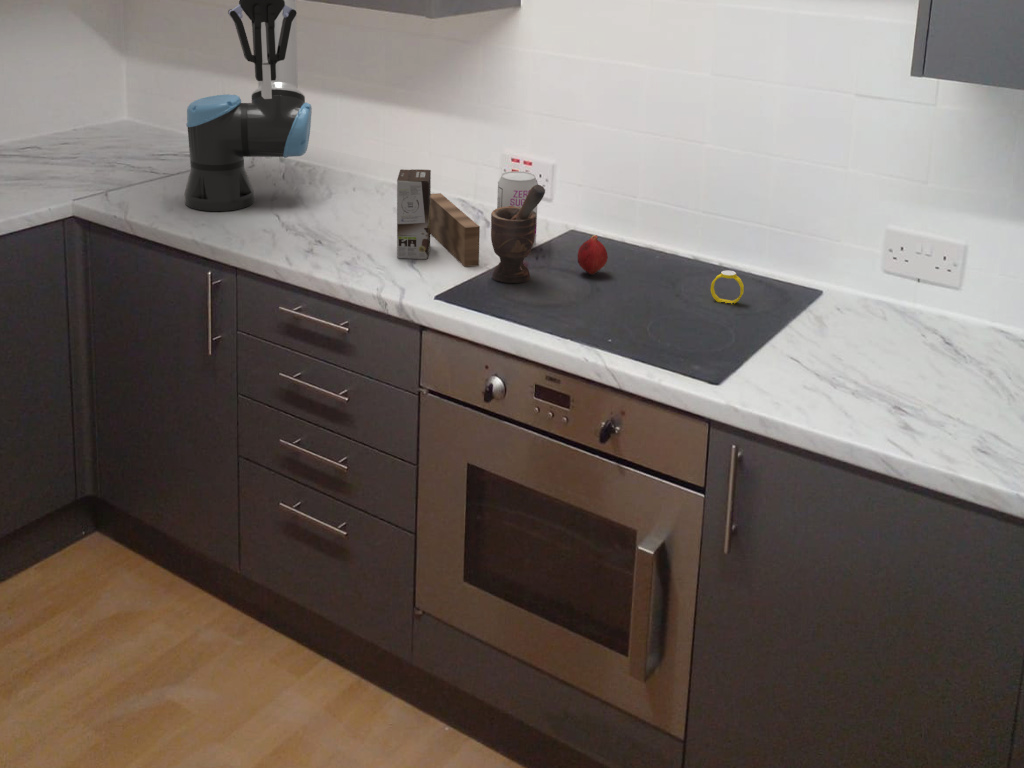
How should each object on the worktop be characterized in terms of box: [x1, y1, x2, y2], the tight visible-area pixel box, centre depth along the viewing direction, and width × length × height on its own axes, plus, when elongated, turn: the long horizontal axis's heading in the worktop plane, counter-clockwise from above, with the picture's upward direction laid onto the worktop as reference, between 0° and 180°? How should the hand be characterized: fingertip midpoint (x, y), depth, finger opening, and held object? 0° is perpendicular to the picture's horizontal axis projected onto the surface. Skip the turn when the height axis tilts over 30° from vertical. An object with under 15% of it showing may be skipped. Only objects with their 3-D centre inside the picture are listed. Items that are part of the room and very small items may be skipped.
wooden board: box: [430, 192, 481, 267], centre depth 250 cm, size 24×3×8 cm, turn 22°
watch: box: [710, 270, 745, 305], centre depth 228 cm, size 6×3×6 cm, turn 69°
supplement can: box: [496, 170, 539, 249], centre depth 251 cm, size 8×8×15 cm
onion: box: [577, 234, 608, 275], centre depth 239 cm, size 6×6×8 cm
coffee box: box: [396, 169, 432, 260], centre depth 245 cm, size 9×6×16 cm
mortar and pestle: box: [490, 184, 546, 284], centre depth 232 cm, size 12×9×20 cm
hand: (266, 97), depth 240 cm, fingers closed
